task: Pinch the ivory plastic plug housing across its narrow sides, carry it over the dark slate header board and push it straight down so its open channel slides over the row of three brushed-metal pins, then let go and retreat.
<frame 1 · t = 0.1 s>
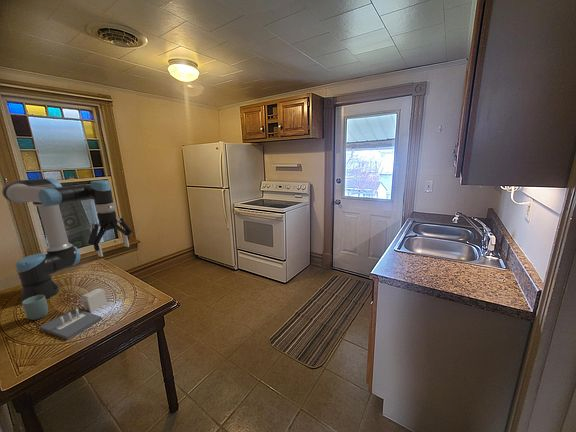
hand: (114, 251, 126), 28 cm above the table, fingers open, 13 cm apart
header board: (72, 324, 113), on the table
housing: (96, 306, 126), on the table
cup: (39, 317, 118), on the table
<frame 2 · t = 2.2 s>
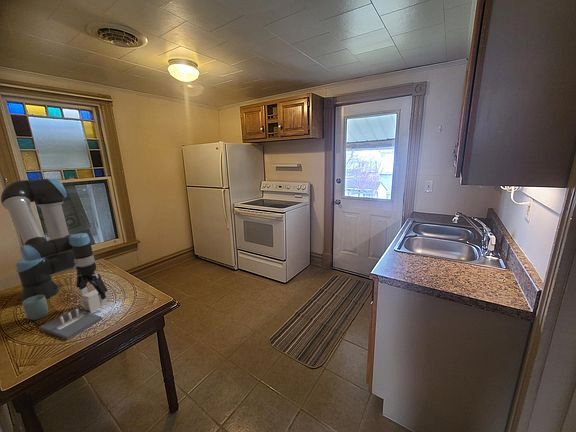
hand: (95, 301, 125), 3 cm above the table, fingers open, 13 cm apart
nothing on the table moved.
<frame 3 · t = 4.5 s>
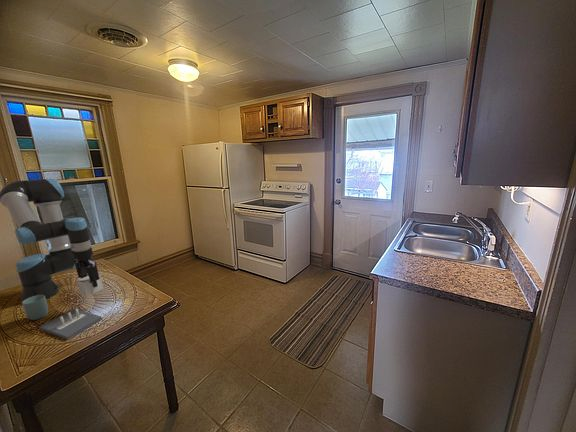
hand: (91, 291, 124), 9 cm above the table, fingers closed on housing, 5 cm apart
housing: (92, 291, 124), point 9 cm above the table, touching gripper
everything else where it was.
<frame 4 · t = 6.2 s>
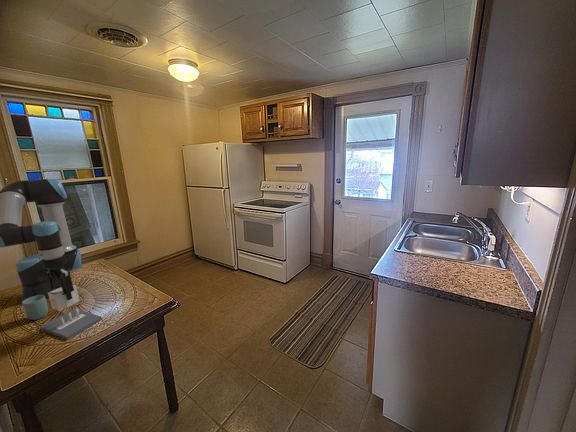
hand: (66, 304, 110), 11 cm above the table, fingers closed on housing, 5 cm apart
housing: (66, 304, 110), point 10 cm above the table, touching gripper
everything else where it was.
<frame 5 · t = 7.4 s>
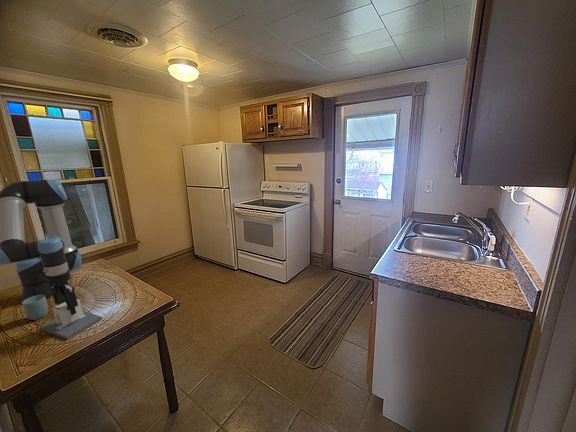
hand: (70, 318, 112), 3 cm above the table, fingers closed on housing, 5 cm apart
housing: (70, 319, 112), point 3 cm above the table, touching gripper
everything else where it was.
when the fingers open (2 cm above the table, at t = 8.2 s): housing stays where it is, resting on header board.
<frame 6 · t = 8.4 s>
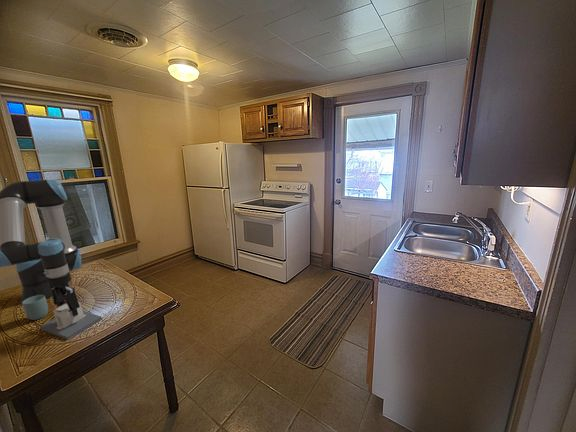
hand: (70, 319, 112), 3 cm above the table, fingers open, 7 cm apart
housing: (71, 321, 112), point 2 cm above the table, touching header board
everything else where it was.
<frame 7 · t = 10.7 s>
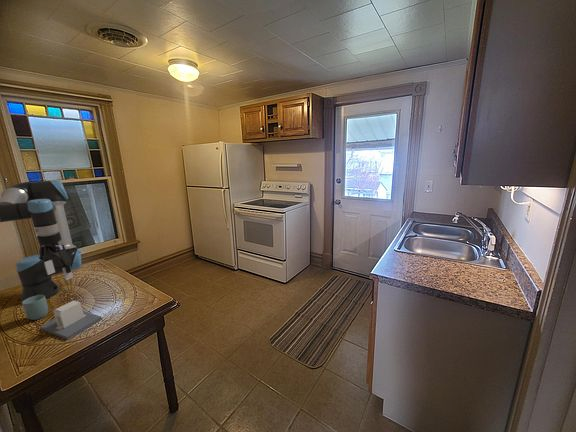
hand: (60, 276, 114), 22 cm above the table, fingers open, 13 cm apart
nothing on the table moved.
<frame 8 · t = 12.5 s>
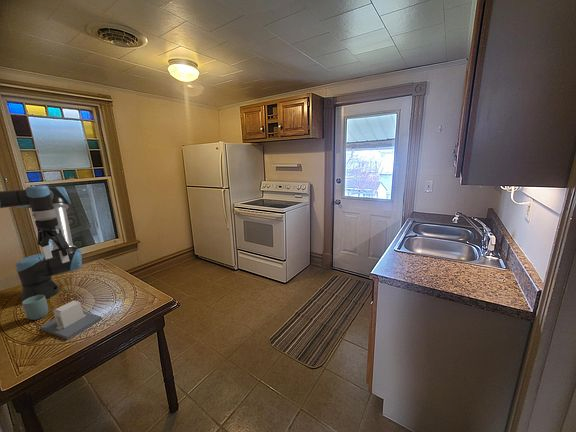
hand: (57, 260, 119), 27 cm above the table, fingers open, 13 cm apart
nothing on the table moved.
at the end: housing 0.0 cm off-centre on the header board, point 1.6 cm above the header board's base; housing tilted 0°; the gripper is holding nothing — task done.
